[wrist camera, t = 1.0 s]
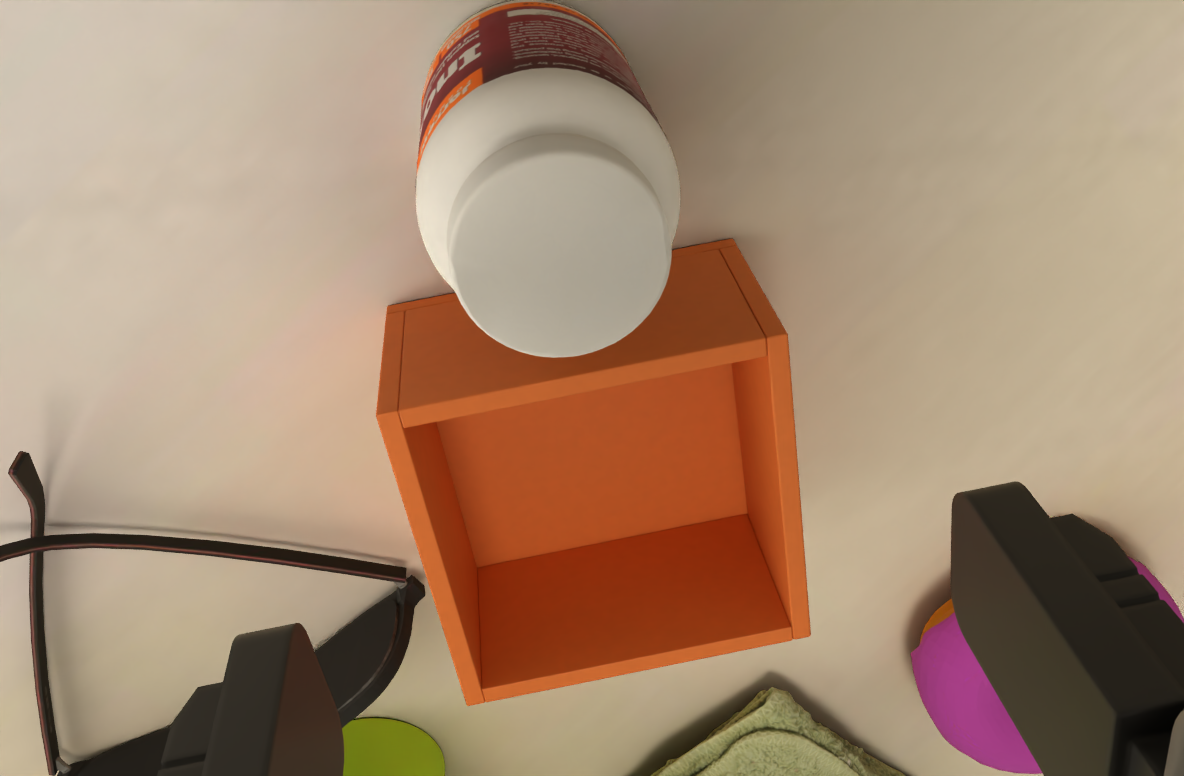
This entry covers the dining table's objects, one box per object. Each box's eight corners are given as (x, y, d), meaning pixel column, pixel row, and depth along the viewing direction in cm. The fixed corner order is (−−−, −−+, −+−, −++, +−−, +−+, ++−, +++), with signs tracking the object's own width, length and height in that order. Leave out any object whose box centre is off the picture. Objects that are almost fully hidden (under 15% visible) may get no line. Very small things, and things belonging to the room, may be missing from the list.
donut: (1080, 478, 42) (1146, 555, 38) (1184, 621, 46) (1252, 703, 42) (856, 625, 44) (895, 711, 40) (975, 746, 49) (1022, 834, 45)
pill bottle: (434, -24, 30) (429, 85, 21) (652, 14, 31) (742, 134, 22) (410, 191, 33) (396, 372, 24) (610, 218, 34) (673, 401, 25)
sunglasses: (179, 311, 34) (141, 393, 30) (445, 597, 41) (445, 697, 37) (-215, 561, 37) (-300, 668, 33) (96, 789, 44) (59, 902, 40)
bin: (733, 237, 35) (788, 333, 29) (760, 512, 41) (811, 637, 35) (386, 305, 35) (375, 415, 29) (463, 572, 41) (467, 706, 35)
